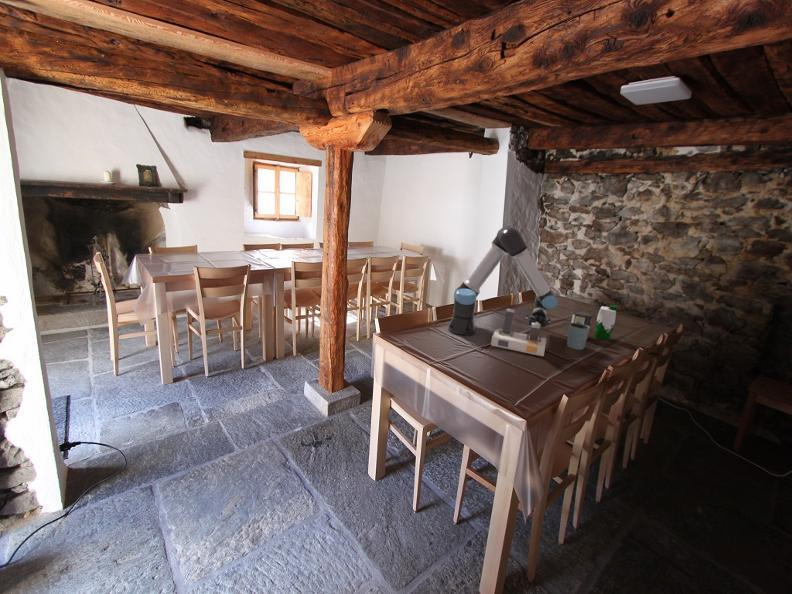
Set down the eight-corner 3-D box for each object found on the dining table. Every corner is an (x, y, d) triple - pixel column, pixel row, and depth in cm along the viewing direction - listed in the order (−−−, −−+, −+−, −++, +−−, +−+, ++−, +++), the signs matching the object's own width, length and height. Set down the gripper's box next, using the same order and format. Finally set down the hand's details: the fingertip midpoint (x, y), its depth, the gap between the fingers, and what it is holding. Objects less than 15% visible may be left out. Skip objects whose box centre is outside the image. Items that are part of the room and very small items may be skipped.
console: (490, 345, 200) (492, 332, 198) (495, 337, 213) (497, 324, 211) (543, 356, 191) (545, 342, 189) (544, 347, 203) (547, 334, 201)
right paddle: (529, 339, 197) (531, 325, 188) (530, 335, 198) (532, 321, 189) (537, 341, 195) (539, 326, 186) (538, 337, 197) (540, 323, 187)
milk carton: (610, 341, 219) (617, 308, 214) (592, 338, 223) (599, 305, 218) (610, 337, 226) (618, 305, 221) (593, 334, 230) (600, 302, 225)
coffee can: (584, 334, 229) (589, 311, 225) (589, 340, 219) (594, 316, 215) (566, 331, 231) (571, 309, 227) (570, 337, 221) (575, 314, 217)
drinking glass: (575, 350, 201) (580, 329, 198) (560, 343, 210) (564, 323, 207) (589, 349, 205) (594, 328, 202) (574, 342, 214) (578, 321, 211)
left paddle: (502, 330, 203) (506, 307, 205) (502, 331, 205) (507, 308, 207) (510, 332, 202) (514, 309, 204) (510, 333, 204) (514, 310, 206)
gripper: (550, 324, 213) (548, 337, 192) (525, 320, 218) (521, 332, 197) (552, 311, 211) (550, 323, 190) (527, 307, 216) (523, 318, 195)
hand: (535, 327), depth 193 cm, fingers closed
